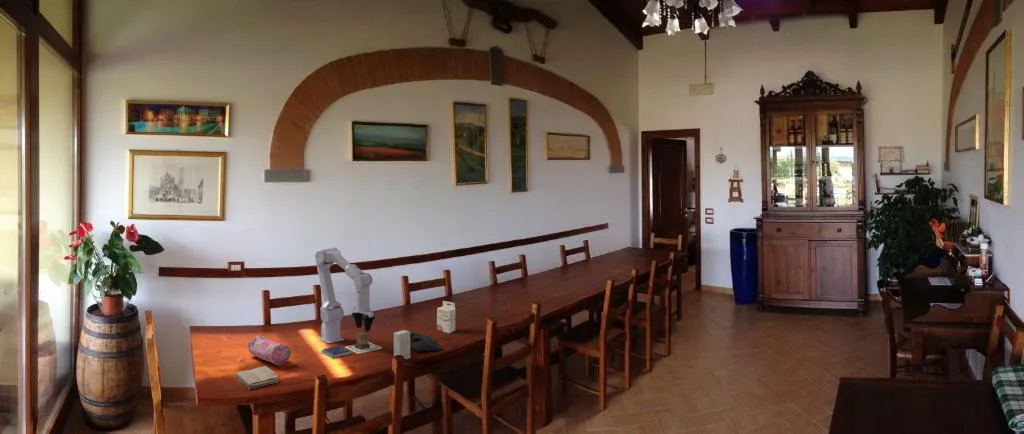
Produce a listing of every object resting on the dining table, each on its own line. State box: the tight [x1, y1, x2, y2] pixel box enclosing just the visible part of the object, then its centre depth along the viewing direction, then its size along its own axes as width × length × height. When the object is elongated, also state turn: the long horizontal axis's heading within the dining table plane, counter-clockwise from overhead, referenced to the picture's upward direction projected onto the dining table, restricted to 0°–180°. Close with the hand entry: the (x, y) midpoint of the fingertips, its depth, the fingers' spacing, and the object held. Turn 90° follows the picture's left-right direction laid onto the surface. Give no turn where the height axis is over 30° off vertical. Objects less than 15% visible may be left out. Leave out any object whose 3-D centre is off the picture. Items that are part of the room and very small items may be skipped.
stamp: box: [353, 331, 370, 350], centre depth 273 cm, size 5×5×6 cm
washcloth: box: [234, 365, 280, 390], centre depth 233 cm, size 12×18×3 cm, turn 42°
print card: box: [344, 341, 382, 355], centre depth 274 cm, size 12×12×1 cm
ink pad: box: [321, 345, 352, 359], centre depth 266 cm, size 10×9×2 cm
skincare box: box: [393, 329, 411, 360], centre depth 260 cm, size 6×4×12 cm
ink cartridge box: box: [436, 300, 456, 334], centre depth 304 cm, size 9×5×15 cm, turn 58°
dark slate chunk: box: [409, 331, 443, 353], centre depth 279 cm, size 15×22×5 cm
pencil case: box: [247, 335, 292, 366], centre depth 256 cm, size 21×9×9 cm, turn 50°
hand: (363, 329), depth 273 cm, fingers open, 7 cm apart
